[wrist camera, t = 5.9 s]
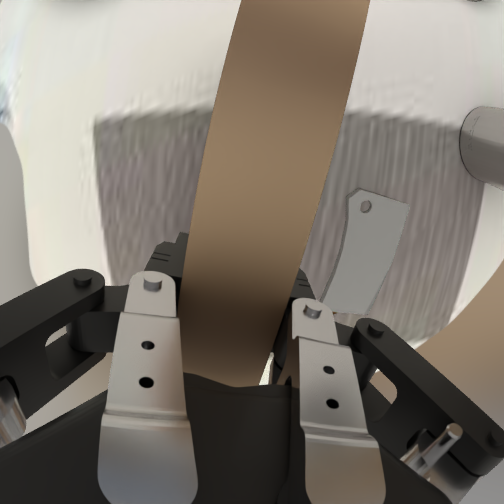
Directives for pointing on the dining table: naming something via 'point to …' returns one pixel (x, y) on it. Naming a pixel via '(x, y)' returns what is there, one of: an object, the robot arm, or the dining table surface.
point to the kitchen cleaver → (364, 252)
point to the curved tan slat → (263, 178)
